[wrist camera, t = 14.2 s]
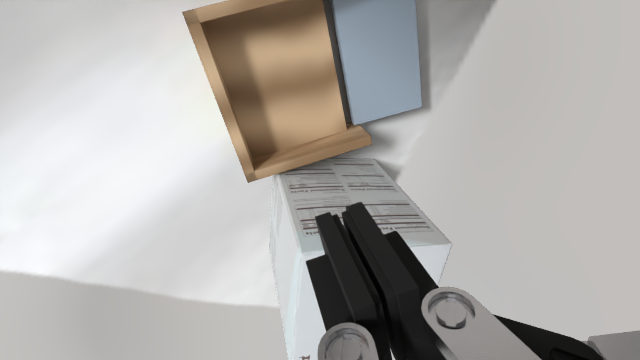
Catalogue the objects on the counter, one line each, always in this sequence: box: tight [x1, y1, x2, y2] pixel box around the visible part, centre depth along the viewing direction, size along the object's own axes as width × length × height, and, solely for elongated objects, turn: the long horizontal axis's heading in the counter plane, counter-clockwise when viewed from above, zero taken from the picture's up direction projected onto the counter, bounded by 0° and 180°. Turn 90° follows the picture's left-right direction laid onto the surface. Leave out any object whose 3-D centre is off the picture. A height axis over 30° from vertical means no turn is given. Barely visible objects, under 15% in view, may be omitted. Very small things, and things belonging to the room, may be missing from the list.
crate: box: [182, 0, 372, 183], centre depth 33 cm, size 16×14×5 cm
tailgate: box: [330, 0, 422, 125], centre depth 35 cm, size 13×2×8 cm
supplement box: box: [269, 159, 452, 360], centre depth 36 cm, size 13×13×18 cm
